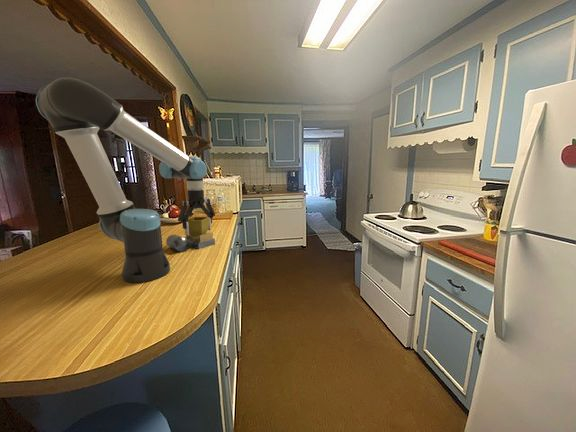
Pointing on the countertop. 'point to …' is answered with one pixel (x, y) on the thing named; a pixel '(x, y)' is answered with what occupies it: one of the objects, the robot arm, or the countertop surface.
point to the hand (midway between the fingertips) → (198, 232)
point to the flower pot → (198, 225)
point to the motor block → (190, 241)
